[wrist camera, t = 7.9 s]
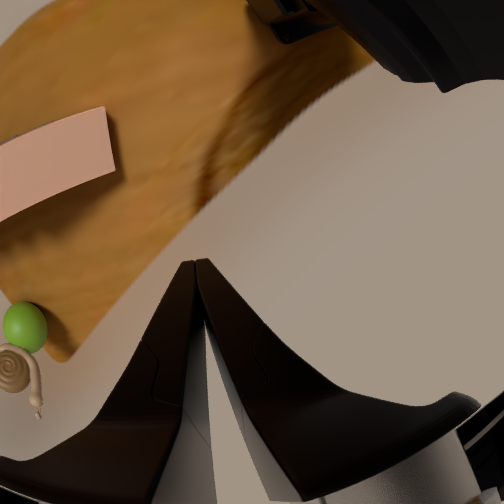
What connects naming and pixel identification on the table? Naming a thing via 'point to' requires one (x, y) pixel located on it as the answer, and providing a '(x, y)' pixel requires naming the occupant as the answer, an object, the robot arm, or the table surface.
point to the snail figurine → (22, 350)
